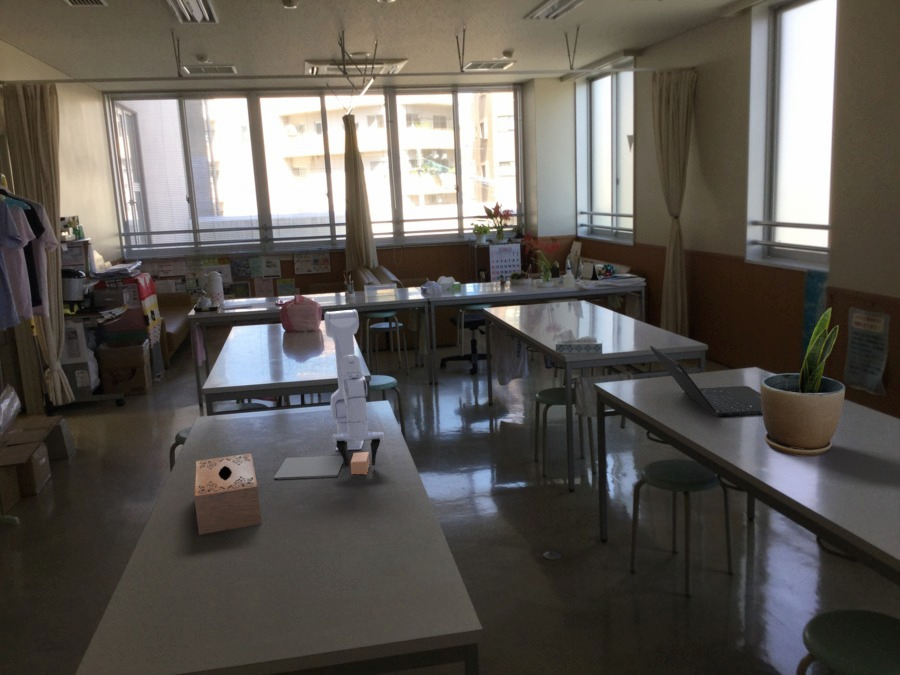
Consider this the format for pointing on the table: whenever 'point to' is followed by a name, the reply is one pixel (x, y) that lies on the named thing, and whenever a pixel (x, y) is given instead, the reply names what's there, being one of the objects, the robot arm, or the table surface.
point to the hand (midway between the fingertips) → (360, 464)
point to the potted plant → (804, 400)
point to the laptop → (714, 392)
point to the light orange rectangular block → (360, 463)
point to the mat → (310, 467)
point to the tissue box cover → (226, 493)
